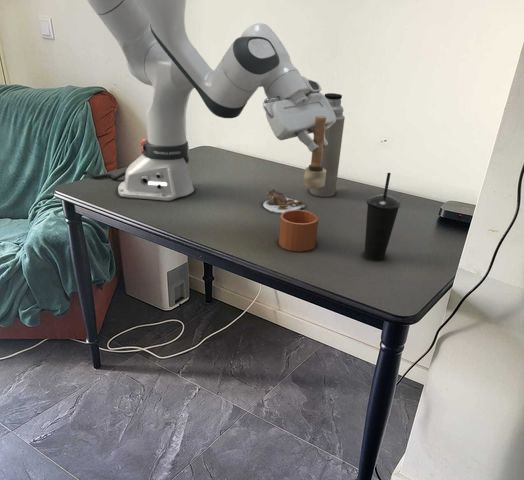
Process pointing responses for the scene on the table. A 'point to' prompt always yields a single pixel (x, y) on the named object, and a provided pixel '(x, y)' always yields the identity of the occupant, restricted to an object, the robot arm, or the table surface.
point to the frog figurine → (281, 203)
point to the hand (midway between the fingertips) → (319, 148)
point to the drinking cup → (380, 223)
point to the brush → (317, 157)
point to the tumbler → (298, 230)
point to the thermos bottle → (331, 148)
